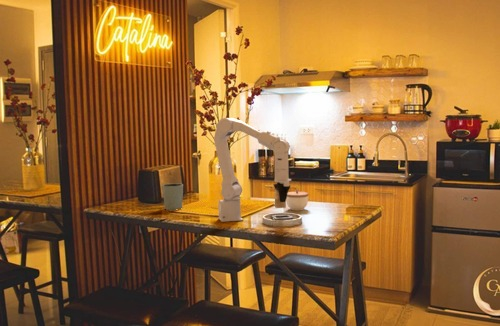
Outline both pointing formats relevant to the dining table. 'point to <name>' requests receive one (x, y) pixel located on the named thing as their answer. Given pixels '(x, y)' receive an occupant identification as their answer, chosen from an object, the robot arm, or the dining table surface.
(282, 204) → the wood wick
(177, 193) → the grey green cup
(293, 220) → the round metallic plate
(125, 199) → the dining table surface
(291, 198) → the lidded jar
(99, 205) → the dining table surface
